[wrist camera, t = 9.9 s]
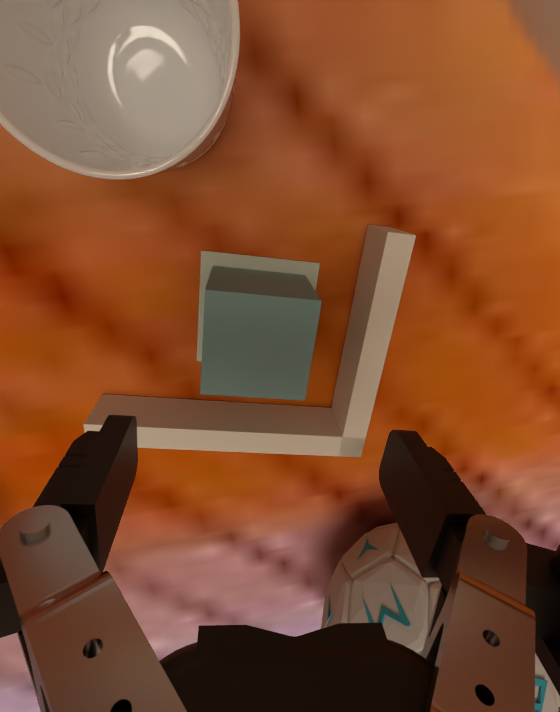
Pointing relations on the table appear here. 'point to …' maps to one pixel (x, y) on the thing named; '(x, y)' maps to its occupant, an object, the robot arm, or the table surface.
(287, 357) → the teal block
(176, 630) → the table surface
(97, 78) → the white cup
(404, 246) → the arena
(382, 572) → the puzzle ball
